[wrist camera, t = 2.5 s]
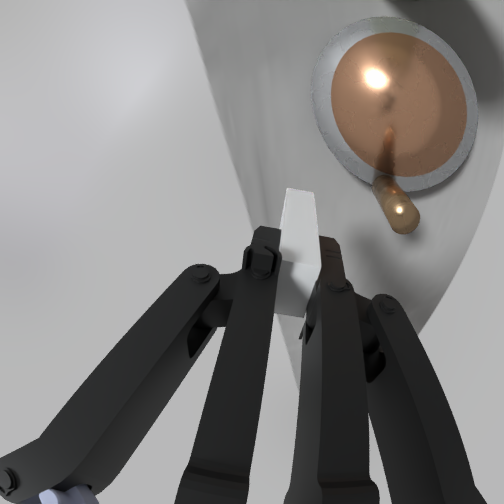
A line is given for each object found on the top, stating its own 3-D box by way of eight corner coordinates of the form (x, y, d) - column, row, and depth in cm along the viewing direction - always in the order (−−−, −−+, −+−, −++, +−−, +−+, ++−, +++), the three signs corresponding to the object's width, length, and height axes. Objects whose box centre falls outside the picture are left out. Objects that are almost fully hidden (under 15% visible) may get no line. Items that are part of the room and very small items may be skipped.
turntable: (322, -1, 14) (332, -32, 8) (480, 63, 13) (529, 69, 7) (295, 174, 24) (294, 211, 18) (440, 210, 23) (472, 253, 17)
